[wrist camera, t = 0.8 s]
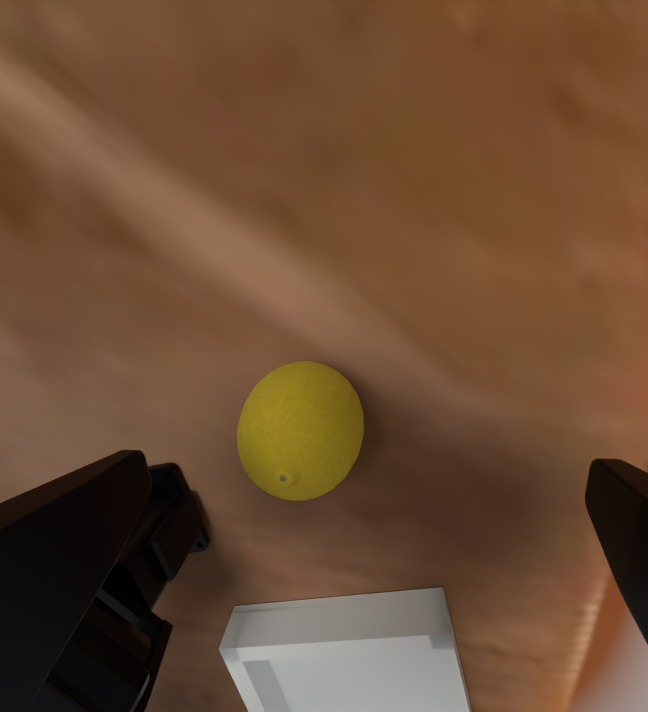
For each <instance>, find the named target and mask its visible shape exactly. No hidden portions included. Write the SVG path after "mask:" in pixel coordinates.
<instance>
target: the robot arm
mask: <svg viewBox="0 0 648 712" xmlns="http://www.w3.org/2000/svg"><path fill="white" fill-rule="evenodd" d="M168 471H170V472H171V473H172V474H171V473H169V472H168ZM585 503H586V508H587V511H588V513H589V516H590V518H591V521H592V523H593V526H594V528H595V531H596V533H597V536H598V538H599V541H600V543H601V546H602V548H603V551H604V553H605V556H606V558H607V561H608V563H609V566H610V568H611V571H612V573H613V576H614V578H615V581H616V583H617V585H618V588H619V590H620V592H621V594H622V596H623V598H624V600H625V602H626V604H627V606H628V608H629V610H630V612H631V614H632V616H633V618H634V620H635V621H636V623H637V625H638V627H639V629H640V631H641V633H642V635H643V637H644V639H645V641H646V642H647V644H648V473H647V472H645V471H643V470H641V469H639V468H637V467H635V466H633V465H631V464H629V463H627V462H625V461H623V460H620V459H595V460H593V461H592V463H591V465H590V470H589V475H588V481H587V487H586V493H585ZM200 542H201V543H200ZM209 543H210V541H209V538H208V536H207V533H206V531H205V529H204V526H203V524H202V522H201V519H200V517H199V515H198V512H197V510H196V508H195V506H194V503H193V501H192V499H191V497H190V495H189V492H188V490H187V488H186V486H185V483H184V481H183V479H182V476H181V474H180V472H179V470H178V468H177V466H175V465H174V464H172V463H166V464H161V465H155V466H150V467H148V465H147V462H146V458H145V455H144V454H143V452H142V451H140V450H121V451H119V452H116V453H114V454H112V455H110V456H107V457H105V458H103V459H100V460H98V461H96V462H94V463H91V464H89V465H87V466H84V467H82V468H80V469H77V470H75V471H73V472H71V473H68V474H66V475H64V476H61V477H59V478H57V479H55V480H52V481H50V482H48V483H45V484H43V485H41V486H39V487H36V488H34V489H32V490H29V491H27V492H25V493H22V494H20V495H18V496H16V497H13V498H11V499H9V500H6V501H4V502H2V503H0V712H144V710H145V708H146V706H147V703H148V701H149V698H150V695H151V692H152V689H153V686H154V683H155V680H156V677H157V674H158V671H159V668H160V665H161V662H162V658H163V655H164V652H165V649H166V646H167V643H168V640H169V637H170V634H171V631H172V628H173V625H172V624H170V623H169V622H168V621H167V620H162V619H161V618H160V617H158V616H157V615H156V614H154V613H153V612H152V611H151V610H152V609H153V607H154V605H155V603H156V602H157V600H158V598H159V596H160V595H161V593H162V591H163V590H164V588H165V586H166V584H167V583H168V582H171V581H173V580H174V578H175V576H176V575H177V573H178V571H179V569H180V568H181V566H182V564H183V562H184V560H185V559H186V557H187V555H188V553H192V552H200V551H205V550H206V549H207V547H208V545H209Z"/></svg>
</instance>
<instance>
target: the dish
mask: <svg viewBox="0 0 648 712" xmlns="http://www.w3.org/2000/svg"><path fill="white" fill-rule="evenodd" d="M219 651H220V653H221V655H222V657H223V659H224V661H225V664H226V666H227V668H228V670H229V672H230V674H231V676H232V678H233V680H234V682H235V684H236V687H237V689H238V691H239V693H240V695H241V697H242V699H243V701H244V703H245V705H246V707H247V709H248V712H472V708H471V704H470V700H469V695H468V691H467V687H466V683H465V679H464V674H463V670H462V666H461V662H460V658H459V653H458V649H457V645H456V641H455V637H454V632H453V628H452V624H451V620H450V616H449V611H448V607H447V603H446V599H445V595H444V590H443V587H438V588H427V589H416V590H405V591H394V592H383V593H372V594H361V595H350V596H339V597H328V598H317V599H306V600H295V601H284V602H273V603H262V604H251V605H240V606H234V609H233V612H232V614H231V617H230V620H229V622H228V625H227V628H226V630H225V633H224V636H223V639H222V641H221V644H220V647H219Z"/></svg>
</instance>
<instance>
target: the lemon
mask: <svg viewBox="0 0 648 712" xmlns="http://www.w3.org/2000/svg"><path fill="white" fill-rule="evenodd" d="M363 435H364V416H363V410H362V407H361V403H360V400H359V397H358V394H357V393H356V391H355V390H354V388H353V387H352V385H351V383H350V382H349V381H348V380H347V379H346V378H345V377H344V376H343V375H342V374H341V373H340V372H338V371H336V370H334V369H333V368H331V367H329V366H327V365H324V364H321V363H317V362H310V361H298V362H294V363H289V364H285V365H283V366H281V367H279V368H277V369H275V370H273V371H271V372H270V373H269V374H267V375H266V376H265V377H264V378H263V379H262V380H261V381H260V382H258V383H257V384H256V386H255V387H254V388H253V390H252V392H251V393H250V395H249V396H248V398H247V400H246V401H245V403H244V406H243V409H242V412H241V416H240V419H239V423H238V428H237V448H238V453H239V457H240V460H241V463H242V466H243V468H244V469H245V471H246V473H247V474H248V476H249V478H250V479H251V480H252V481H253V482H254V483H255V484H256V485H257V486H258V487H260V488H261V489H262V490H264V491H265V492H267V493H268V494H270V495H273V496H275V497H278V498H280V499H286V500H291V501H301V500H309V499H313V498H317V497H319V496H321V495H323V494H325V493H327V492H329V491H331V490H332V489H333V488H334V487H336V486H337V485H338V484H339V483H340V482H341V481H342V480H343V479H344V478H345V477H346V475H347V474H348V472H349V471H350V469H351V467H352V466H353V464H354V462H355V461H356V459H357V457H358V454H359V451H360V447H361V444H362V440H363Z"/></svg>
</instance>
